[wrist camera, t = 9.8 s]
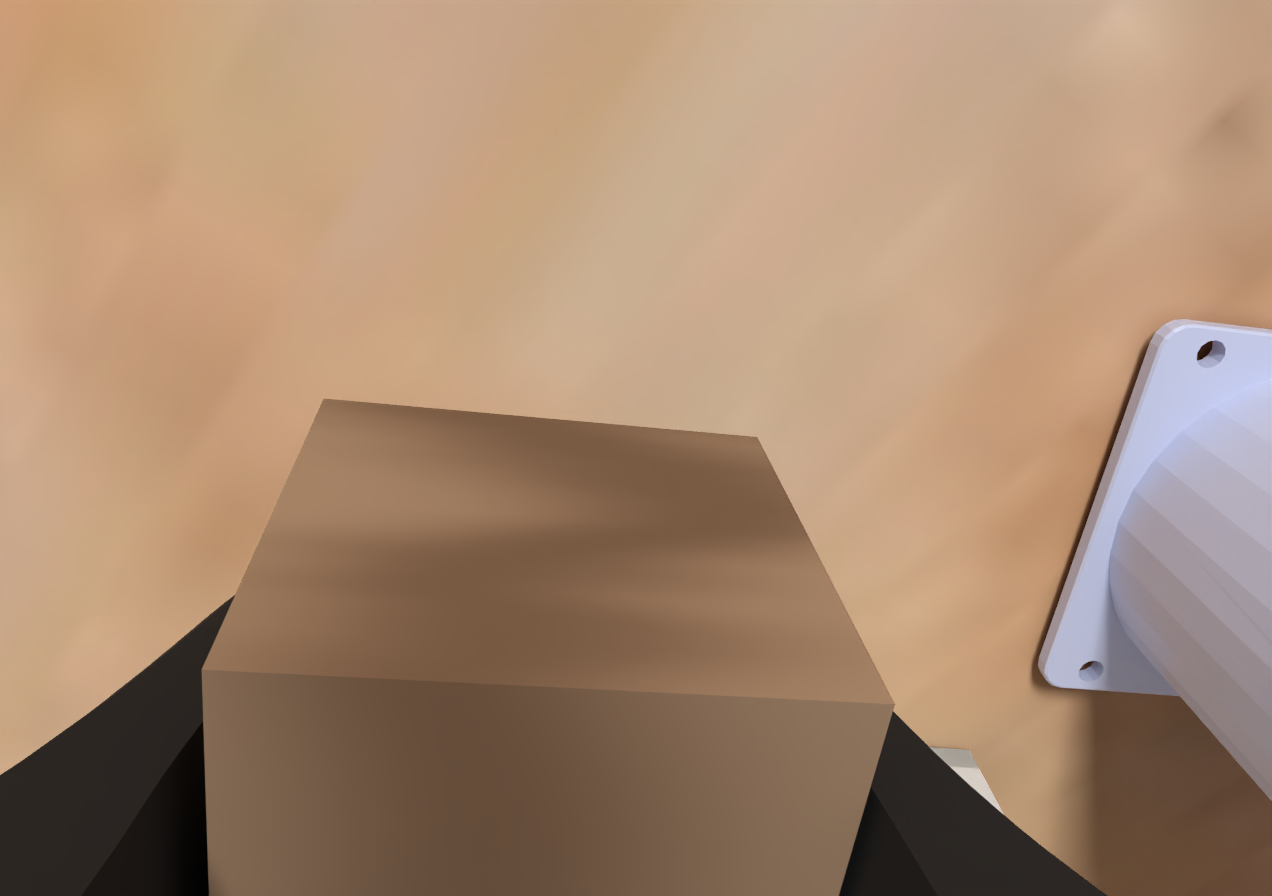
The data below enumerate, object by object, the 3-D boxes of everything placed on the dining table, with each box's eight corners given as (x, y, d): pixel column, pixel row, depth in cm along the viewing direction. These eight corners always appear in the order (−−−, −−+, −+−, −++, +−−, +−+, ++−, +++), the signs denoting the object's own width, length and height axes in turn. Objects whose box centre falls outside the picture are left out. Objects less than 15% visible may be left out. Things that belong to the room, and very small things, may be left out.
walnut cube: (757, 437, 12) (895, 704, 8) (690, 767, 14) (770, 1131, 10) (324, 398, 12) (202, 670, 7) (316, 753, 14) (217, 1140, 9)
